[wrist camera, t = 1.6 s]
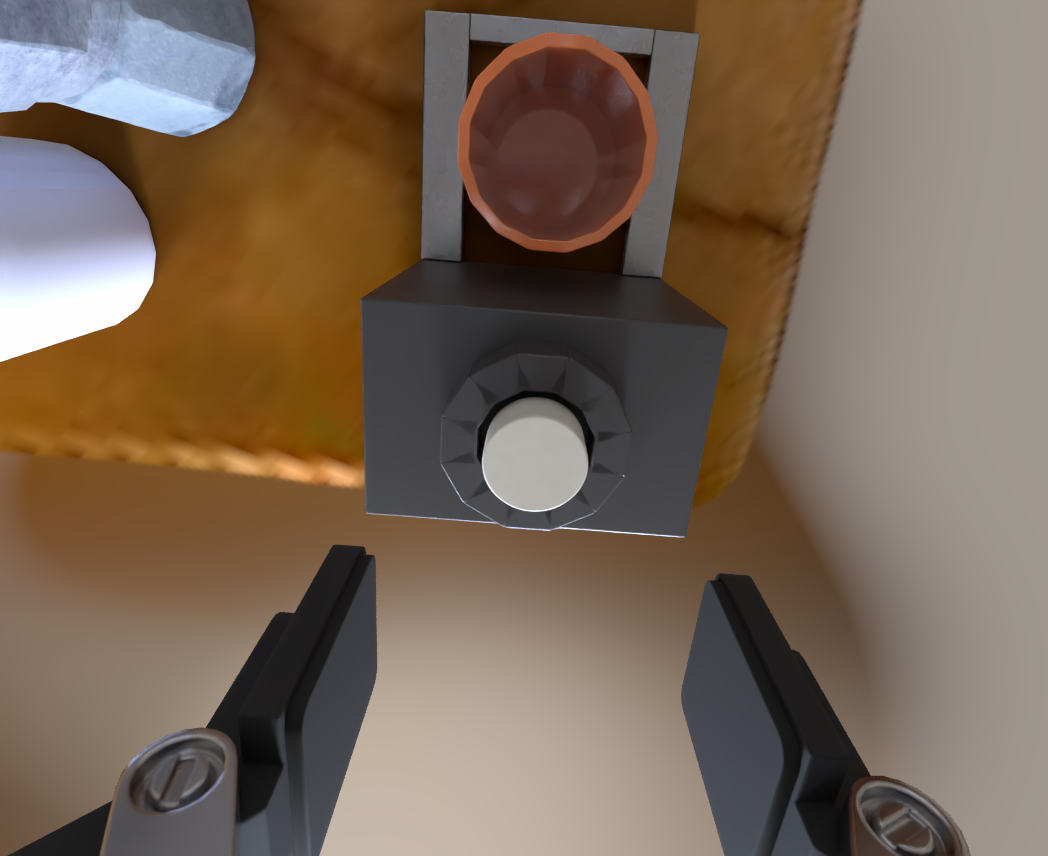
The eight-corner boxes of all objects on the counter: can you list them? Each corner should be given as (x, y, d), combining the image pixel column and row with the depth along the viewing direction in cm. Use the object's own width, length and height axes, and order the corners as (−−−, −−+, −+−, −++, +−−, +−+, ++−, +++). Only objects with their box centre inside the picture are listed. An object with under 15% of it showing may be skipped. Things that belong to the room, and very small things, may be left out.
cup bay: (427, 14, 27) (424, 8, 26) (695, 37, 27) (700, 32, 26) (424, 257, 31) (420, 259, 30) (658, 276, 31) (662, 279, 30)
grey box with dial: (424, 257, 31) (343, 307, 18) (658, 276, 31) (747, 339, 18) (421, 405, 34) (351, 540, 21) (635, 421, 34) (698, 566, 21)
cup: (483, 73, 28) (461, 24, 19) (630, 86, 28) (672, 42, 20) (476, 228, 30) (454, 244, 22) (611, 239, 30) (640, 259, 22)
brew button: (488, 392, 19) (484, 411, 18) (589, 400, 19) (594, 420, 18) (483, 482, 20) (479, 508, 19) (578, 489, 20) (582, 516, 19)
